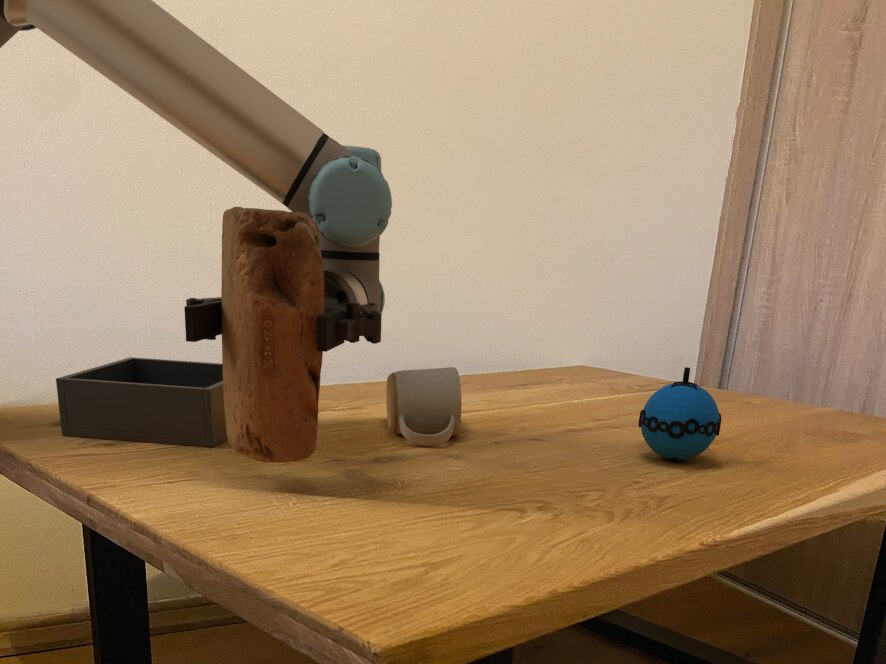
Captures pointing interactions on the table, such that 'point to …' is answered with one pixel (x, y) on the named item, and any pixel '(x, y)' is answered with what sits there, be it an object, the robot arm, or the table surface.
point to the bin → (145, 402)
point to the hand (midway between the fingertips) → (255, 329)
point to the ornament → (680, 420)
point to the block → (271, 332)
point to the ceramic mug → (424, 405)
